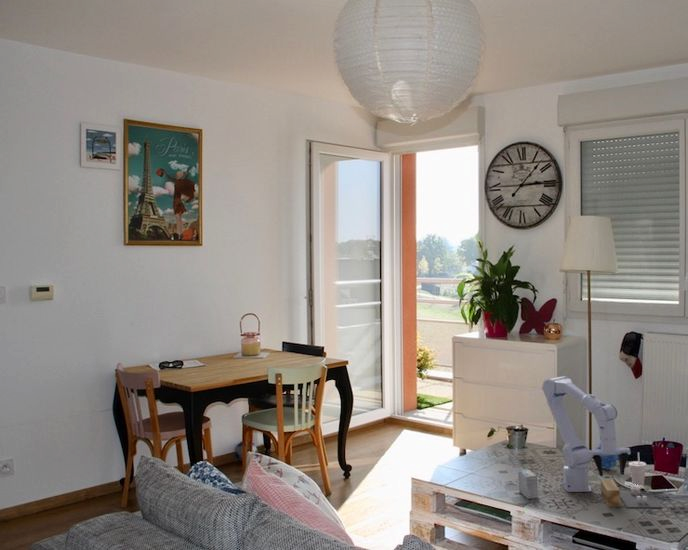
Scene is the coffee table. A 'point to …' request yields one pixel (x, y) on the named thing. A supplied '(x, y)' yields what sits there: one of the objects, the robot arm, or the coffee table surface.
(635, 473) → the smoothie
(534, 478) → the medicine box
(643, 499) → the peg base
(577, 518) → the coffee table surface
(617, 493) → the oak block
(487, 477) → the coffee table surface
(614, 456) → the grapes
